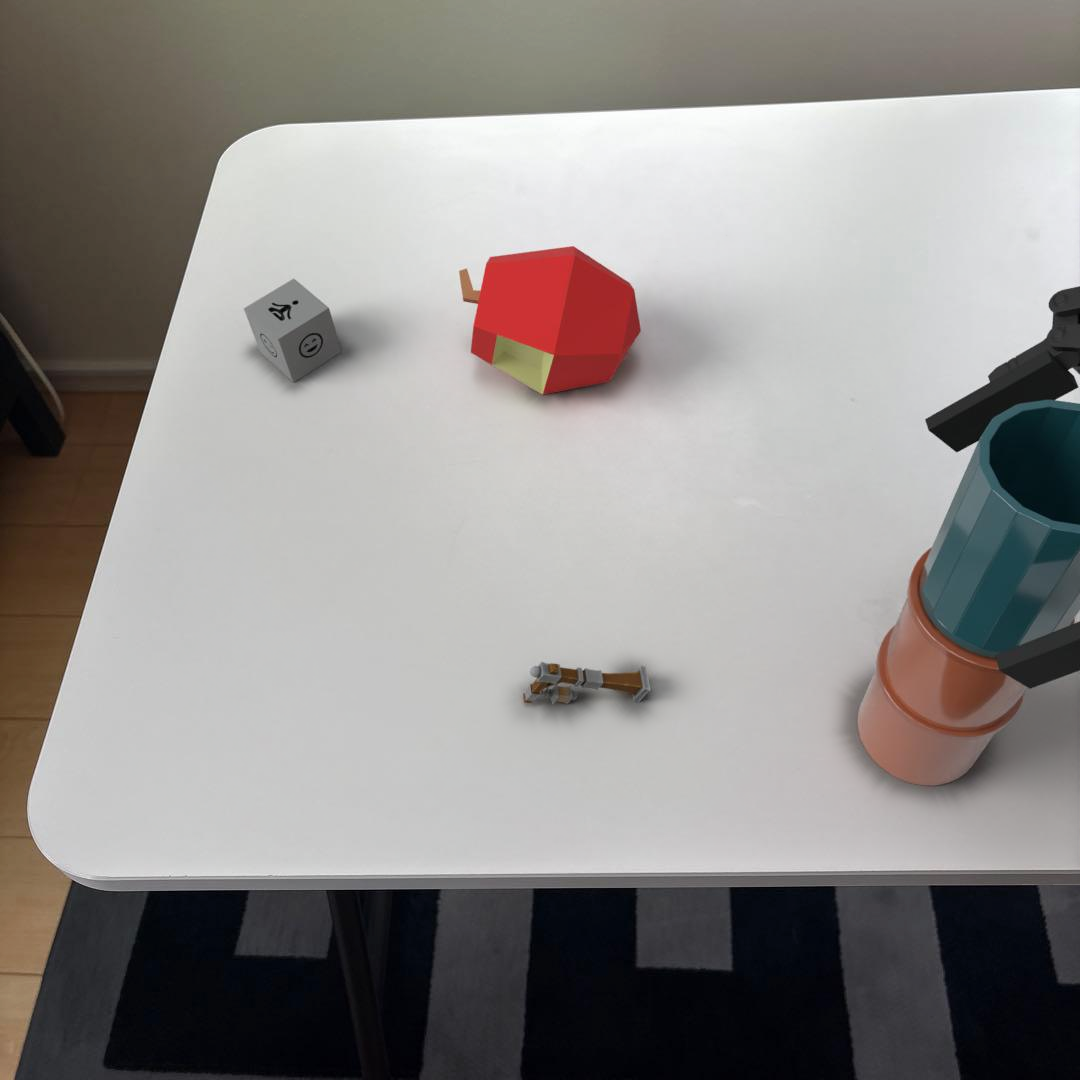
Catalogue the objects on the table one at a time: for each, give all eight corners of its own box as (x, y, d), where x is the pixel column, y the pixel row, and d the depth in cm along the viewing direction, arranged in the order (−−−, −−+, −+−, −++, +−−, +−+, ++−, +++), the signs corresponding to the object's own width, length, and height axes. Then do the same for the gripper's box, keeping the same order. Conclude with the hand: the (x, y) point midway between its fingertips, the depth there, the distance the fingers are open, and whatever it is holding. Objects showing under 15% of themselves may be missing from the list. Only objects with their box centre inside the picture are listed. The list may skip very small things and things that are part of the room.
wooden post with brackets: (509, 685, 70) (533, 652, 67) (619, 694, 73) (647, 663, 70) (511, 710, 69) (536, 677, 66) (622, 719, 72) (651, 688, 69)
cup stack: (984, 803, 65) (1078, 682, 52) (847, 775, 67) (905, 651, 53) (986, 685, 70) (1074, 546, 56) (857, 661, 71) (914, 521, 58)
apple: (618, 436, 85) (433, 397, 84) (629, 335, 92) (459, 298, 91) (656, 324, 75) (448, 279, 75) (665, 222, 83) (476, 179, 82)
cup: (1069, 672, 52) (1165, 546, 43) (916, 644, 54) (977, 516, 44) (1065, 551, 56) (1153, 413, 47) (922, 528, 57) (981, 389, 48)
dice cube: (260, 352, 91) (243, 308, 87) (308, 322, 92) (293, 278, 88) (293, 382, 88) (278, 339, 84) (341, 351, 90) (328, 307, 86)
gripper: (1765, 626, 33) (1091, 816, 46) (1385, 137, 47) (953, 387, 60) (1736, 535, 29) (1003, 772, 42) (1329, 29, 43) (877, 323, 56)
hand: (973, 545), depth 51 cm, fingers open, 13 cm apart
